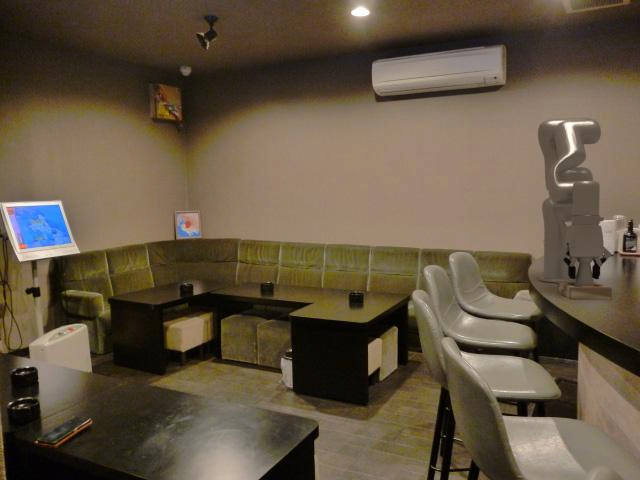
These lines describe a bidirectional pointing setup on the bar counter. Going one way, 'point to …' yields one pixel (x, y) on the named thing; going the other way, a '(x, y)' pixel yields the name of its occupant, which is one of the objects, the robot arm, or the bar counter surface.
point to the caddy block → (585, 291)
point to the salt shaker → (584, 272)
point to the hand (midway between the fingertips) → (583, 278)
